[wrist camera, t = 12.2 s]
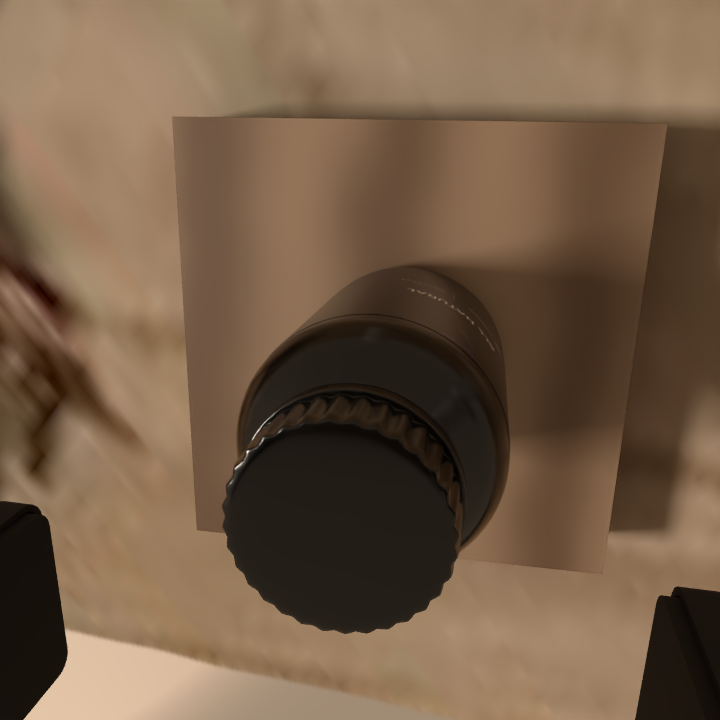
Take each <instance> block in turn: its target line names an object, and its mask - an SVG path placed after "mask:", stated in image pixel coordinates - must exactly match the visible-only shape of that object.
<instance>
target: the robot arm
mask: <svg viewBox="0 0 720 720" xmlns="http://www.w3.org/2000/svg"><path fill="white" fill-rule="evenodd" d="M67 654H68V650H67V642H66V636H65V628H64V621H63V614H62V607H61V601H60V594H59V587H58V580H57V573H56V566H55V559H54V553H53V546H52V539H51V532H50V525H49V522H48V519H47V518H46V517H45V516H43V515H42V514H41V511H40V510H39V508H38V507H37V506H35V505H31V504H23V503H15V502H7V501H0V720H23V719H24V718H25V717H26V716H27V715H28V713H29V712H30V711H31V710H32V708H33V707H34V706H35V705H36V704H37V702H38V701H39V700H40V698H41V697H42V696H43V695H44V694H45V693H46V691H47V690H48V689H49V688H50V686H51V685H52V684H53V683H54V681H55V680H56V679H57V678H58V677H59V675H60V674H61V672H62V671H63V668H64V666H65V663H66V660H67ZM635 720H720V592H717V591H709V590H701V589H693V588H685V587H675V588H674V590H673V592H672V595H671V597H670V596H662V595H661V596H659V597H658V599H657V603H656V608H655V613H654V619H653V625H652V630H651V636H650V641H649V647H648V652H647V658H646V663H645V669H644V674H643V680H642V685H641V691H640V696H639V702H638V707H637V713H636V718H635Z"/></svg>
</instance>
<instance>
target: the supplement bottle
mask: <svg viewBox="0 0 720 720" xmlns="http://www.w3.org/2000/svg"><path fill="white" fill-rule="evenodd" d="M236 449H237V459H238V460H237V461H236V463H235V465H234V468H233V475H232V476H231V477H230V478H229V480H228V481H227V483H226V495H227V496H226V498H225V499H224V501H223V504H222V509H223V512H224V515H225V518H224V521H223V525H222V527H223V529H224V531H225V533H226V535H227V547H228V549H229V550H230V552H231V553H232V554H233V555H234V559H235V565H236V567H237V568H238V569H239V570H240V571H242V572H243V573H244V575H245V578H246V580H247V583H248V584H249V585H250V586H251V587H253V588H255V589H256V590H258V592H259V594H260V595H261V597H262V598H263V600H265V601H267V602H269V603H271V604H273V605H275V607H276V608H277V609H278V610H279V611H280V612H281V613H282V614H285V615H289V616H292V617H294V618H295V619H296V620H297V621H298V622H300V623H301V624H306V625H313V626H315V627H317V628H318V629H320V630H322V631H330V630H335V631H338V632H340V633H344V634H347V633H351V632H355V631H357V632H361V633H369V632H372V631H374V630H376V629H390V628H391V627H393V626H394V625H395V624H396V623H400V622H407V621H409V620H410V619H411V618H412V617H413V615H414V614H415V613H418V612H421V611H424V610H426V609H427V607H428V605H429V603H430V601H431V600H433V599H435V598H436V597H438V596H439V595H441V592H442V589H443V585H444V583H445V582H446V581H448V580H449V579H450V578H451V576H452V574H453V569H454V562H455V560H456V559H457V557H458V555H459V553H460V552H461V551H462V550H463V549H465V548H466V547H467V546H468V545H469V544H470V543H472V542H473V541H474V540H475V539H476V538H477V537H478V536H479V534H480V533H481V532H482V531H483V530H484V529H485V527H486V526H487V524H488V523H489V521H490V520H491V519H492V517H493V515H494V513H495V511H496V509H497V508H498V506H499V503H500V501H501V498H502V496H503V493H504V490H505V486H506V483H507V477H508V471H509V462H510V434H509V419H508V404H507V389H506V374H505V361H504V354H503V348H502V343H501V339H500V335H499V333H498V330H497V328H496V325H495V323H494V321H493V319H492V317H491V316H490V314H489V313H488V311H487V309H486V308H485V307H484V305H483V304H482V303H481V302H480V300H479V299H478V298H477V297H476V296H475V295H474V294H473V293H471V292H470V291H469V290H468V289H467V288H466V287H464V286H463V285H461V284H460V283H458V282H457V281H455V280H453V279H451V278H449V277H447V276H445V275H443V274H440V273H437V272H434V271H431V270H427V269H422V268H415V267H393V268H387V269H382V270H378V271H375V272H372V273H369V274H367V275H364V276H362V277H360V278H358V279H356V280H354V281H353V282H351V283H350V284H348V285H347V286H345V287H344V288H343V289H342V290H340V291H339V292H338V293H337V294H335V295H334V296H333V297H332V298H331V299H330V300H329V301H328V302H326V303H325V304H324V305H323V306H322V307H321V308H320V309H319V310H318V311H317V312H315V313H314V314H313V315H312V316H311V317H310V318H309V319H308V320H307V321H306V322H305V323H303V324H302V325H301V326H300V327H299V328H298V329H297V330H296V331H295V332H294V333H292V334H291V335H290V336H289V337H288V338H287V339H286V340H285V341H284V342H283V343H282V344H280V345H279V346H278V347H277V348H276V349H275V350H274V351H273V352H272V354H271V355H270V356H269V357H268V358H267V359H266V361H265V362H264V363H263V364H262V366H261V367H260V368H259V369H258V371H257V372H256V374H255V375H254V377H253V379H252V380H251V382H250V384H249V386H248V388H247V390H246V392H245V395H244V398H243V401H242V403H241V407H240V411H239V415H238V421H237V428H236Z"/></svg>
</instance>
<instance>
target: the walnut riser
mask: <svg viewBox="0 0 720 720" xmlns="http://www.w3.org/2000/svg"><path fill="white" fill-rule="evenodd" d="M172 122H173V138H174V155H175V172H176V188H177V205H178V222H179V238H180V255H181V272H182V288H183V305H184V322H185V338H186V355H187V372H188V388H189V405H190V422H191V438H192V455H193V472H194V488H195V505H196V522H197V530H201V531H210V532H219V533H225V531H224V529H223V527H222V525H223V521H224V518H225V515H224V512H223V509H222V504H223V501H224V499H225V498H226V496H227V495H226V483H227V481H228V480H229V478H230V477H231V476H232V475H233V468H234V465H235V463H236V461H237V460H238V459H237V449H236V428H237V421H238V415H239V411H240V407H241V403H242V401H243V398H244V395H245V392H246V390H247V388H248V386H249V384H250V382H251V380H252V379H253V377H254V375H255V374H256V372H257V371H258V369H259V368H260V367H261V366H262V364H263V363H264V362H265V361H266V359H267V358H268V357H269V356H270V355H271V354H272V352H273V351H274V350H275V349H276V348H277V347H278V346H279V345H280V344H282V343H283V342H284V341H285V340H286V339H287V338H288V337H289V336H290V335H291V334H292V333H294V332H295V331H296V330H297V329H298V328H299V327H300V326H301V325H302V324H303V323H305V322H306V321H307V320H308V319H309V318H310V317H311V316H312V315H313V314H314V313H315V312H317V311H318V310H319V309H320V308H321V307H322V306H323V305H324V304H325V303H326V302H328V301H329V300H330V299H331V298H332V297H333V296H334V295H335V294H337V293H338V292H339V291H340V290H342V289H343V288H344V287H345V286H347V285H348V284H350V283H351V282H353V281H354V280H356V279H358V278H360V277H362V276H364V275H367V274H369V273H372V272H375V271H378V270H382V269H387V268H393V267H415V268H422V269H427V270H431V271H434V272H437V273H440V274H443V275H445V276H447V277H449V278H451V279H453V280H455V281H457V282H458V283H460V284H461V285H463V286H464V287H466V288H467V289H468V290H469V291H470V292H471V293H473V294H474V295H475V296H476V297H477V298H478V299H479V300H480V302H481V303H482V304H483V305H484V307H485V308H486V309H487V311H488V313H489V314H490V316H491V317H492V319H493V321H494V323H495V325H496V328H497V330H498V333H499V335H500V339H501V343H502V348H503V354H504V361H505V374H506V389H507V404H508V419H509V434H510V462H509V471H508V477H507V483H506V486H505V490H504V493H503V496H502V498H501V501H500V503H499V506H498V508H497V509H496V511H495V513H494V515H493V517H492V519H491V520H490V521H489V523H488V524H487V526H486V527H485V529H484V530H483V531H482V532H481V533H480V534H479V536H478V537H477V538H476V539H475V540H474V541H473V542H472V543H470V544H469V545H468V546H467V547H466V548H465V549H463V550H462V551H461V552H460V553H459V555H458V557H457V559H467V560H476V561H485V562H494V563H503V564H512V565H522V566H531V567H540V568H549V569H558V570H567V571H577V572H586V573H595V574H603V568H604V561H605V554H606V547H607V540H608V533H609V526H610V519H611V512H612V505H613V498H614V492H615V485H616V478H617V471H618V464H619V457H620V450H621V443H622V436H623V429H624V422H625V415H626V409H627V402H628V395H629V388H630V381H631V374H632V367H633V360H634V353H635V346H636V339H637V333H638V326H639V319H640V312H641V305H642V298H643V291H644V284H645V277H646V270H647V263H648V256H649V250H650V243H651V236H652V229H653V222H654V215H655V208H656V201H657V194H658V187H659V180H660V173H661V167H662V160H663V153H664V146H665V139H666V132H667V125H668V124H667V123H596V122H525V121H453V120H382V119H310V118H239V117H172Z"/></svg>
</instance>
